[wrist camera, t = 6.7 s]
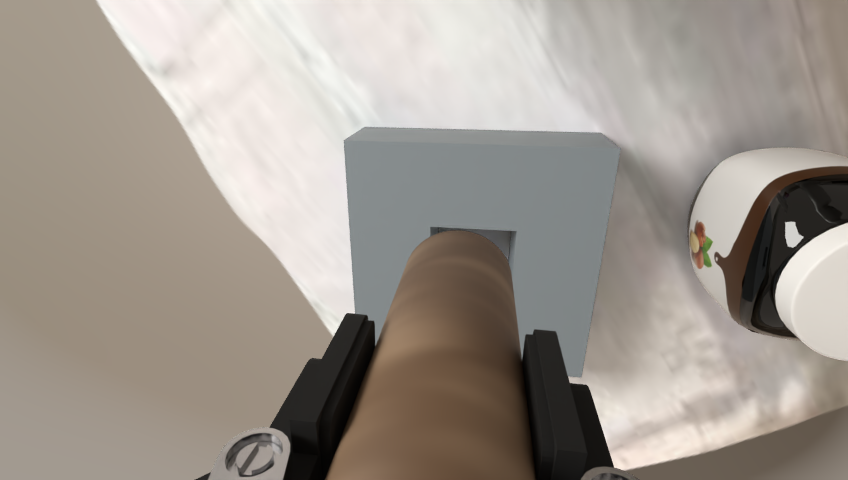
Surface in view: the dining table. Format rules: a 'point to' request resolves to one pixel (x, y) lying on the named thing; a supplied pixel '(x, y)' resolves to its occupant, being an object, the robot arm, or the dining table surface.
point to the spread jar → (777, 244)
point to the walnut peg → (443, 375)
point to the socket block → (486, 215)
